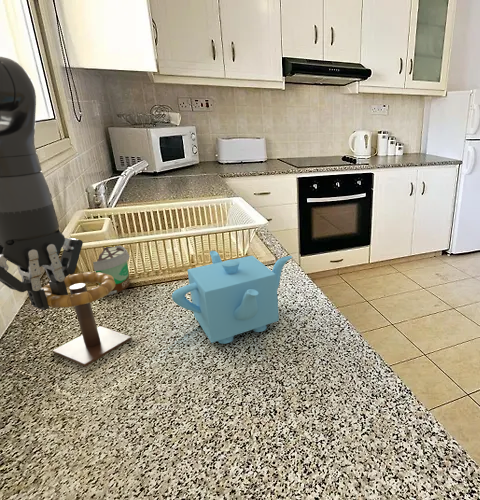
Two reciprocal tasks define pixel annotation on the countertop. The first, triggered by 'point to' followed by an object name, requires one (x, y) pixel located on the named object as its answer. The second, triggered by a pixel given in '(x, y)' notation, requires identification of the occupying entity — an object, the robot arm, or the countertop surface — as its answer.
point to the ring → (83, 297)
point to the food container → (114, 266)
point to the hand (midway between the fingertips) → (51, 304)
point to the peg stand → (89, 336)
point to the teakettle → (232, 296)
